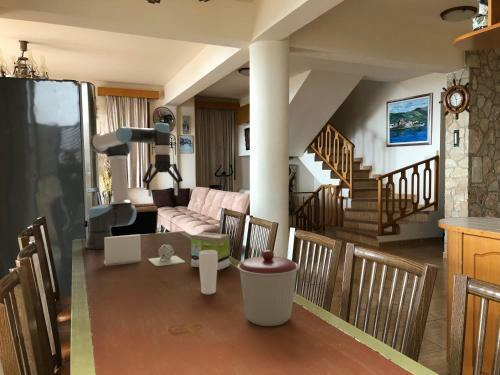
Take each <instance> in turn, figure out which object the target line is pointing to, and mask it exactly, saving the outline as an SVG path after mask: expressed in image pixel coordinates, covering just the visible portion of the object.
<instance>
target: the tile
mask: <svg viewBox="0 0 500 375" xmlns="http://www.w3.org/2000/svg"><path fill="white" fill-rule="evenodd" d="M160 259H161V258H160V257H153V258H147V260H148V261H149V262H150V263H151V264H152V265H154V266H155V267H161V266H171V265H179V264H185V263H186V261H185V260H183V258H180V257H179V256H177V255H173V256H172V257H171V261H170V260H169V259H161V261H160Z"/></svg>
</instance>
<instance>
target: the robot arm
mask: <svg viewBox="0 0 500 375" xmlns="http://www.w3.org/2000/svg"><path fill="white" fill-rule="evenodd" d="M131 143H139V144H154V154H155V155H154V163H149V164H148V168H147V170H146V173H145V174H144V176H143V178H142V182H143V183H145V185H146V188H145V189H146V190H147V191H148V195H147V196H148V197H152V183H151V182H152V180H153V179H154V178H155V177H156V175H157V174H158V173H168V174H169V176H170V177H171V178H172V179H173V180H174V181H175V182H174V183H173V184H174V196H178V195H179V194H178V190H179V189H180V183H181V182H183V180H184V179H183V178H182V176H181V173H180V171H179V169H178V166H177V163H171V155H170V153H171V131H170V125H169V123H163V122H157V123H155V124H154V128H153V127H152V128H144V127H134V126H133V127H131V126H119V127H117V129H116V130H115V131H111V132H107V133H96V134H94V135H92V136H91V137H90V139H89V147H90V148H91V150H92V151H93V152H95V153H97V154H99V155H100V154H101V155H106V156H107V159H108V160H109V161H110V176H111V186H112V187H111V188H112V197H113V198H112V199H113V201H112V202H111V203H110V204H100V205H94V206H92V207H90V208H89V209H88V215H87V217H88V237H87V240H86V244H85V248H86V249H88V250H105V241H104V237H113V235H112V228H114V227H123V226H129V225H132V224H133V223H135V220H136V218H137V208H136V207H135V205H133V204H132V201H131V200H130V199H129V187H128V186H129V185H128V177H127V175H128V174H127V165H126V164H127V162H126V160H127V158H128V157H129V156H128V155H129V154H130V153H131V152H132V145H131ZM153 168H155V170H154V171H153V172H152V174H151V171H152V170H153ZM171 168H172V169H173V171H174V173H175V174H174V173H173V171H172V170H171ZM150 174H151V175H150Z"/></svg>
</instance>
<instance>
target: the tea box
mask: <svg viewBox="0 0 500 375" xmlns="http://www.w3.org/2000/svg"><path fill="white" fill-rule="evenodd" d="M190 250H191V251H190V253H191V254H190V258H191V259H190V261H191V262H190V263H191V265H190V266H191V267H194V268H199V252H200V251H203V250H215V251H217V256H218V264H217V270H219V271H221V270H224V269H225V268H228V267H229V266H230V234H224V233H223V234H222V233H217V232H216V233H215V232H208V231H207V232H205V231H203V232H198V233H195V234H191V235H190ZM220 269H221V270H220Z"/></svg>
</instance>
